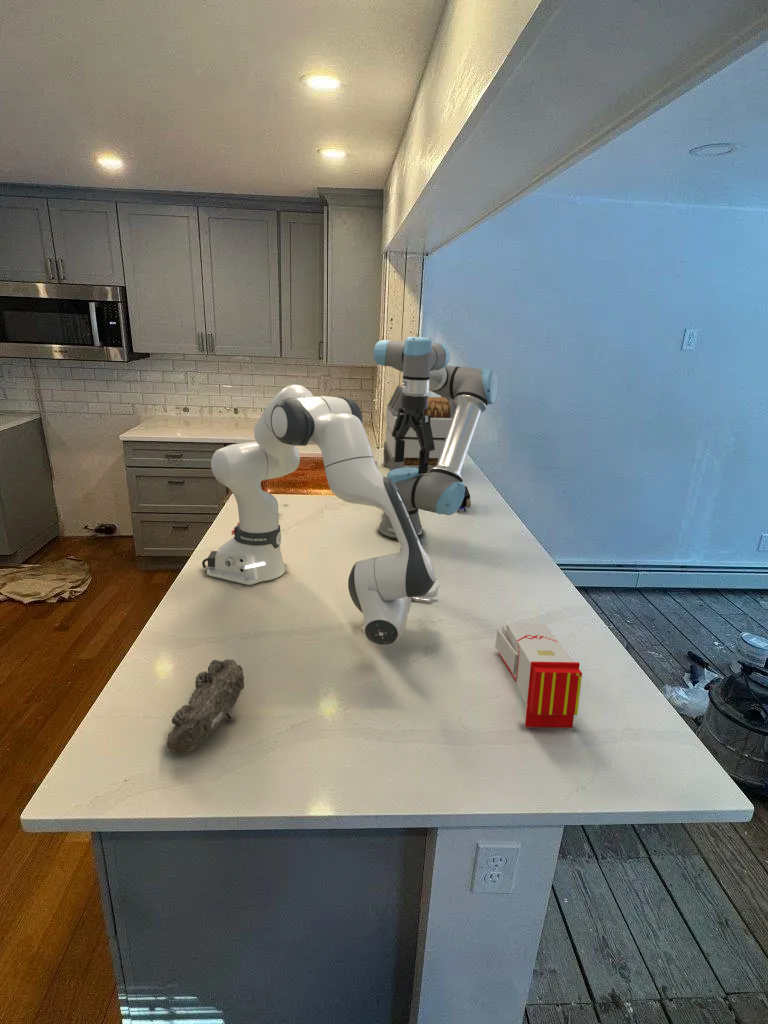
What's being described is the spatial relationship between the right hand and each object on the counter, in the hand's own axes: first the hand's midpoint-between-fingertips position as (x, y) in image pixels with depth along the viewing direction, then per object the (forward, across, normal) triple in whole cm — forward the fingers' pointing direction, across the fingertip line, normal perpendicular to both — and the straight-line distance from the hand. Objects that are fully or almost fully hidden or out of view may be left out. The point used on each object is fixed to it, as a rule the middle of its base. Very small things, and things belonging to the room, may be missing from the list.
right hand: (410, 467), depth 166 cm
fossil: (+31, +46, -69) cm, 88 cm away
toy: (+31, +64, -6) cm, 71 cm away
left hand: (+20, +25, -16) cm, 36 cm away
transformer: (+31, -87, +58) cm, 109 cm away
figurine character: (+31, -37, +48) cm, 68 cm away
